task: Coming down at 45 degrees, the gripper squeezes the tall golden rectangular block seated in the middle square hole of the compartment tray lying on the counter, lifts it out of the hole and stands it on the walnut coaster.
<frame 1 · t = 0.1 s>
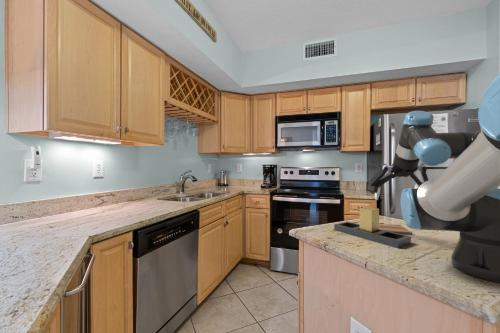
hand: (394, 198, 96), 15 cm above the counter, tool tilted 35°, fingers open, 13 cm apart
compartment tray: (369, 237, 94), on the counter
coaster: (390, 231, 102), on the counter
golden rectangular block: (369, 236, 94), resting on compartment tray
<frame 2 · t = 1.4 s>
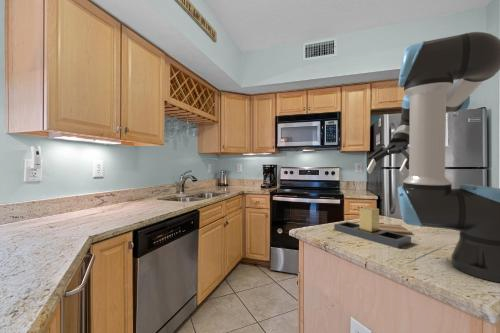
hand: (383, 172, 99), 25 cm above the counter, tool tilted 45°, fingers open, 13 cm apart
nothing on the counter moved.
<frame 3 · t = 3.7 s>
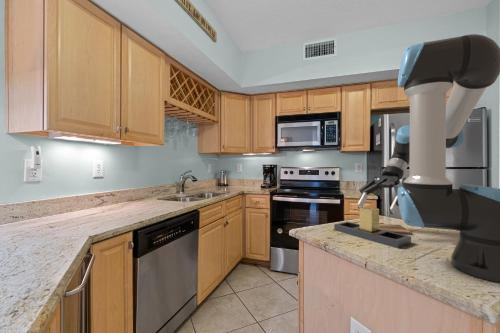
hand: (374, 208, 97), 11 cm above the counter, tool tilted 45°, fingers open, 13 cm apart
nothing on the counter moved.
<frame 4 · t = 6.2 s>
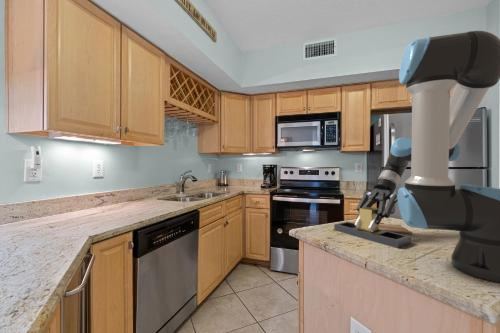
hand: (363, 228, 92), 4 cm above the counter, tool tilted 45°, fingers closed on golden rectangular block, 5 cm apart
golden rectangular block: (369, 236, 94), resting on compartment tray, touching gripper
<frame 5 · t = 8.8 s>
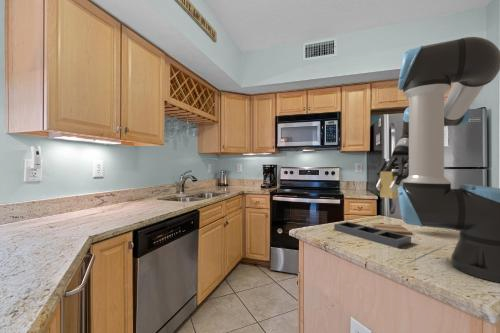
hand: (384, 189, 99), 18 cm above the counter, tool tilted 45°, fingers closed on golden rectangular block, 5 cm apart
golden rectangular block: (389, 197, 102), point 15 cm above the counter, touching gripper
when the fingers open (6 cm above the counter, at t = 11.4 s): golden rectangular block stays where it is, resting on coaster.
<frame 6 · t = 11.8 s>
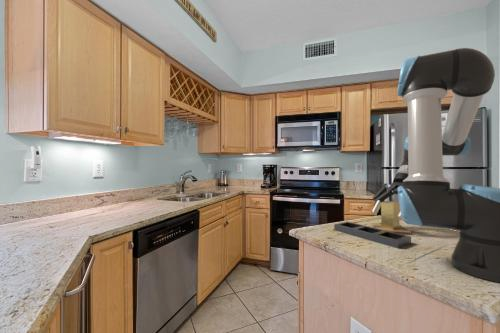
hand: (386, 215, 100), 7 cm above the counter, tool tilted 45°, fingers open, 10 cm apart
golden rectangular block: (390, 227, 102), point 1 cm above the counter, touching coaster
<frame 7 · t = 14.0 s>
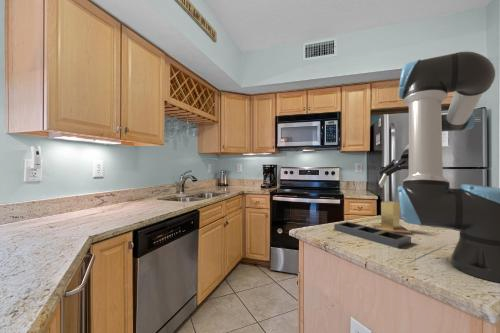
hand: (395, 186, 105), 19 cm above the counter, tool tilted 45°, fingers open, 13 cm apart
nothing on the counter moved.
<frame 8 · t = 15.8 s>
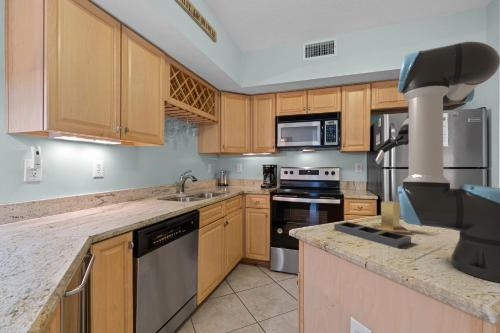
hand: (392, 162, 103), 30 cm above the counter, tool tilted 45°, fingers open, 13 cm apart
nothing on the counter moved.
at the end: golden rectangular block inside the target area on the coaster (0.0 cm from its centre), point 1.5 cm above the coaster's base; golden rectangular block tilted 0°; the gripper is holding nothing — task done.
